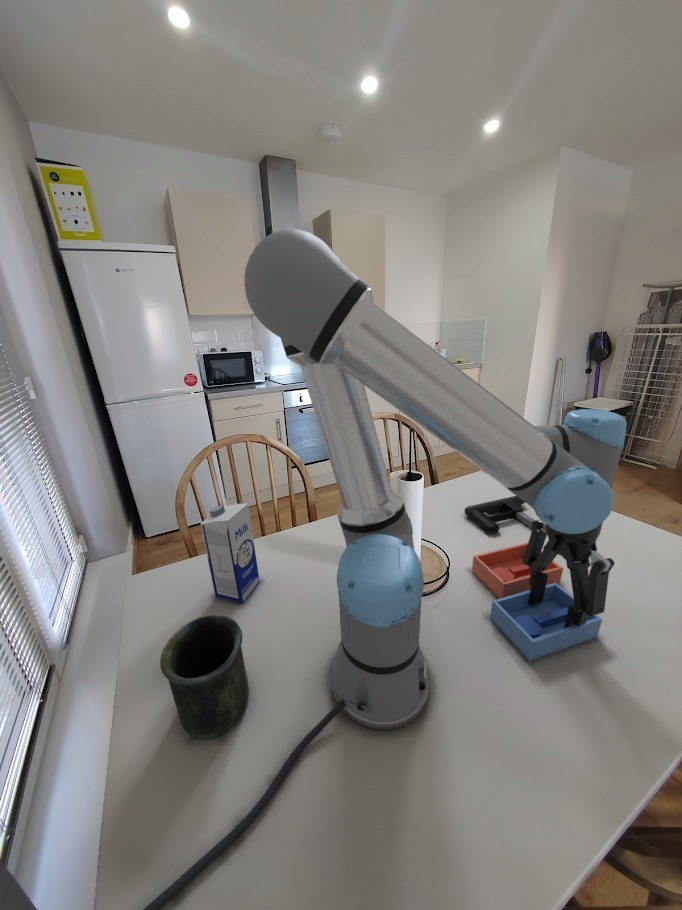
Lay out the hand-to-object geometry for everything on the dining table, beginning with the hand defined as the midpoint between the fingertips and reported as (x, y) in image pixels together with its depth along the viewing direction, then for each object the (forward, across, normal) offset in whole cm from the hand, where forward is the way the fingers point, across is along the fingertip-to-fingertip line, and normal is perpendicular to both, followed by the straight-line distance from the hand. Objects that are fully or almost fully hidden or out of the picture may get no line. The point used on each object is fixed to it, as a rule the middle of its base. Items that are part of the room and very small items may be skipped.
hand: (551, 617), depth 65 cm
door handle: (+2, +32, -18) cm, 37 cm away
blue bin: (+2, 0, +2) cm, 3 cm away
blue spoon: (+1, 0, +2) cm, 2 cm away
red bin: (+2, +12, -3) cm, 13 cm away
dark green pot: (+2, +6, +59) cm, 59 cm away
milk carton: (+2, +29, +55) cm, 62 cm away
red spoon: (+1, +12, -3) cm, 13 cm away
